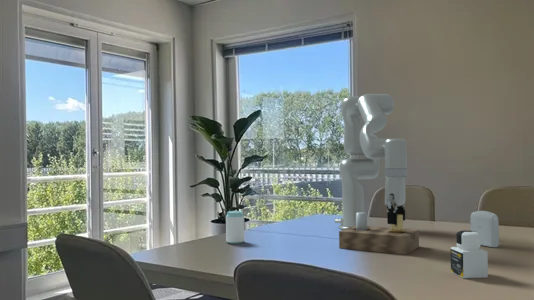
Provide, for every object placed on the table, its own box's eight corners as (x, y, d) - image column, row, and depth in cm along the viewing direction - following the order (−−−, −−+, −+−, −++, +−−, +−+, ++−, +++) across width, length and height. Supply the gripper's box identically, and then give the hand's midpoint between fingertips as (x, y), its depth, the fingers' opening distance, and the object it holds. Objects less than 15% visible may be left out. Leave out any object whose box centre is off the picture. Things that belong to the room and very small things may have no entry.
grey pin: (354, 240, 173) (354, 213, 173) (358, 238, 176) (358, 212, 177) (365, 241, 171) (364, 213, 171) (369, 239, 174) (368, 212, 174)
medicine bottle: (450, 272, 134) (449, 229, 134) (474, 271, 134) (473, 228, 134) (462, 278, 126) (462, 233, 127) (488, 277, 127) (487, 233, 127)
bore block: (339, 248, 170) (339, 231, 170) (355, 240, 183) (355, 225, 183) (406, 254, 157) (406, 236, 157) (419, 246, 171) (418, 229, 171)
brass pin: (390, 243, 166) (389, 215, 166) (393, 241, 170) (392, 213, 170) (401, 244, 164) (400, 215, 164) (404, 242, 168) (404, 214, 168)
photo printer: (468, 243, 175) (468, 210, 175) (476, 242, 177) (476, 209, 177) (492, 248, 166) (492, 212, 166) (501, 247, 168) (500, 212, 168)
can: (247, 241, 186) (247, 210, 186) (239, 244, 179) (238, 212, 180) (231, 240, 189) (231, 210, 189) (222, 243, 182) (222, 212, 183)
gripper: (392, 172, 177) (393, 218, 177) (377, 174, 162) (378, 224, 162) (413, 172, 173) (413, 219, 173) (399, 175, 158) (400, 226, 158)
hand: (396, 222), depth 167 cm, fingers open, 9 cm apart
